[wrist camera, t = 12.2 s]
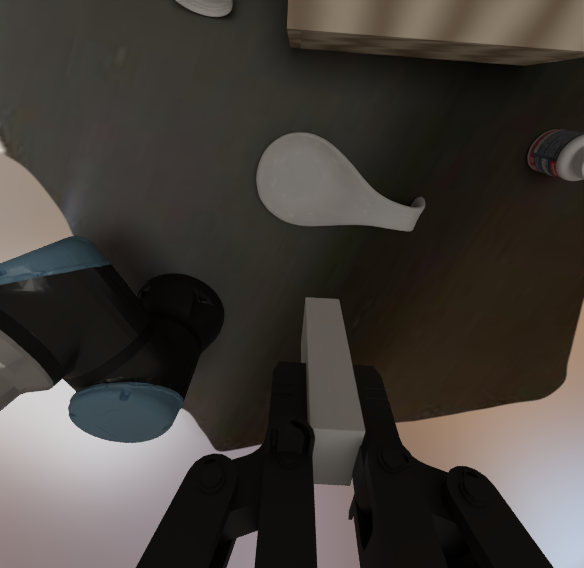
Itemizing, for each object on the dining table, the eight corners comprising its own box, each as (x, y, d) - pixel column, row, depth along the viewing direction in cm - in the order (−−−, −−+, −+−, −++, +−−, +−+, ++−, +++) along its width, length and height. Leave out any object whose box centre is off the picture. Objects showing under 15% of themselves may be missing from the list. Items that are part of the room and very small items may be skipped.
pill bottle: (517, 157, 43) (565, 170, 35) (551, 120, 41) (609, 125, 33) (543, 178, 44) (594, 195, 37) (577, 143, 42) (639, 153, 34)
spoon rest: (251, 204, 47) (244, 220, 41) (269, 118, 41) (264, 121, 35) (398, 244, 50) (412, 265, 44) (435, 169, 44) (457, 181, 38)
